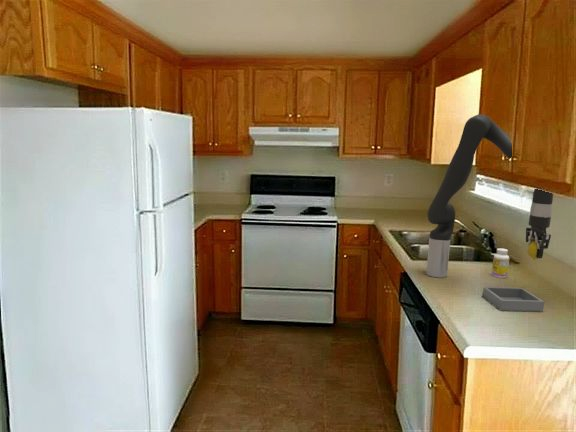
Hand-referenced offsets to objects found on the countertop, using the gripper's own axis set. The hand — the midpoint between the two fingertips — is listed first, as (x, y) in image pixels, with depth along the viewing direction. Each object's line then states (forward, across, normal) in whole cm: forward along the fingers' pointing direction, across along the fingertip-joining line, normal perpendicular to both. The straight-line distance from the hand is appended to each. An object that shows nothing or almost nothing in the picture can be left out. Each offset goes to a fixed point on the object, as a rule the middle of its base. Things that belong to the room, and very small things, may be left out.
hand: (534, 255), depth 194 cm
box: (+17, +9, -12) cm, 23 cm away
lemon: (+2, 0, 0) cm, 2 cm away
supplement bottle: (+18, -29, +2) cm, 34 cm away
